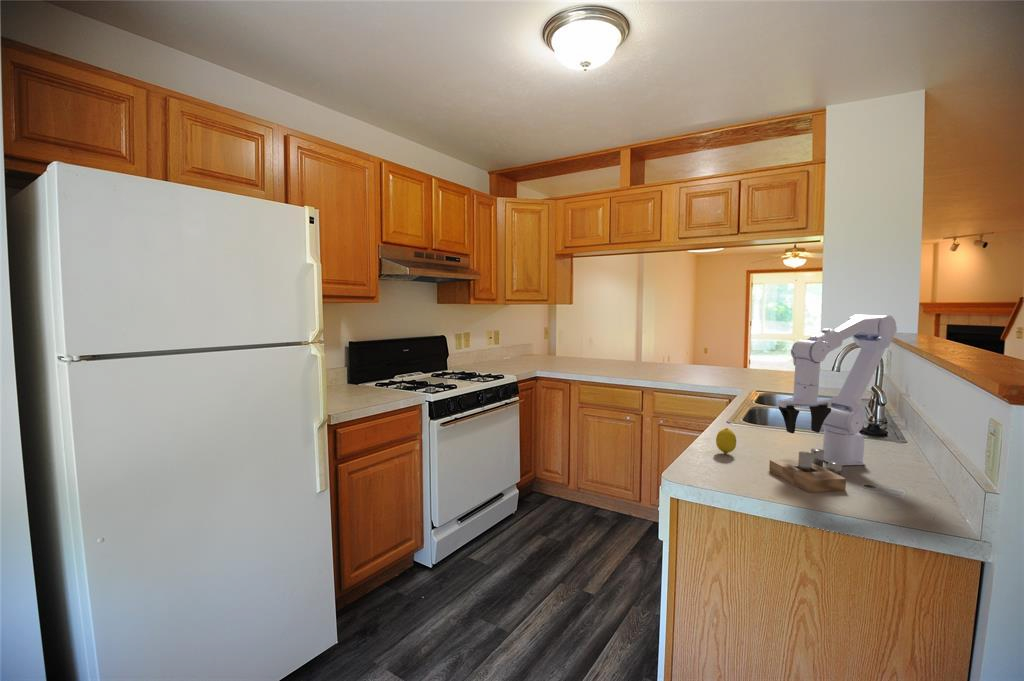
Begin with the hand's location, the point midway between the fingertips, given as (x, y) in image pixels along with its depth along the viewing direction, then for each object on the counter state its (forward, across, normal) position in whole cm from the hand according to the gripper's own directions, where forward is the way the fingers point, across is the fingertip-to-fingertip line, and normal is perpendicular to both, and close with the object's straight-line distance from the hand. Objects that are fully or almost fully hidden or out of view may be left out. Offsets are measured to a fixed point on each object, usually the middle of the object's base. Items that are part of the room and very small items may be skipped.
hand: (802, 432), depth 128 cm
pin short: (+10, -4, +7) cm, 13 cm away
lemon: (+10, +15, -12) cm, 22 cm away
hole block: (+10, +6, +9) cm, 15 cm away
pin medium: (+10, -4, +1) cm, 11 cm away
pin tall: (+10, +6, +9) cm, 14 cm away
